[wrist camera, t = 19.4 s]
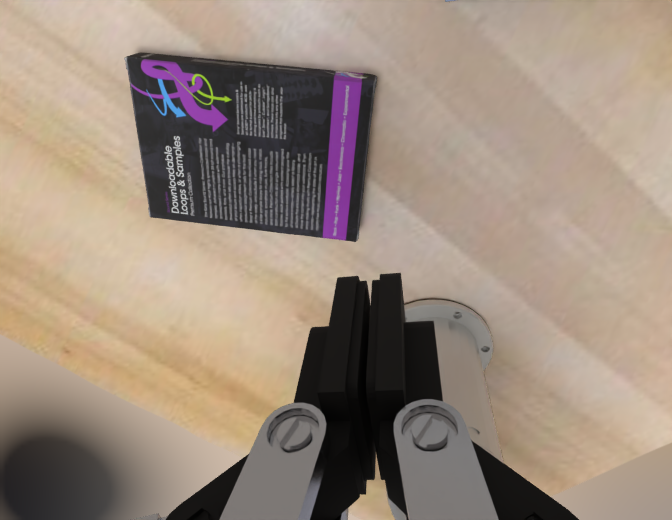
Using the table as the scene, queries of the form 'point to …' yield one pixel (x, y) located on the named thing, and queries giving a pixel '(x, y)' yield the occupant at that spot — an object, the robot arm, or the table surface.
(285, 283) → the table surface
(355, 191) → the box
